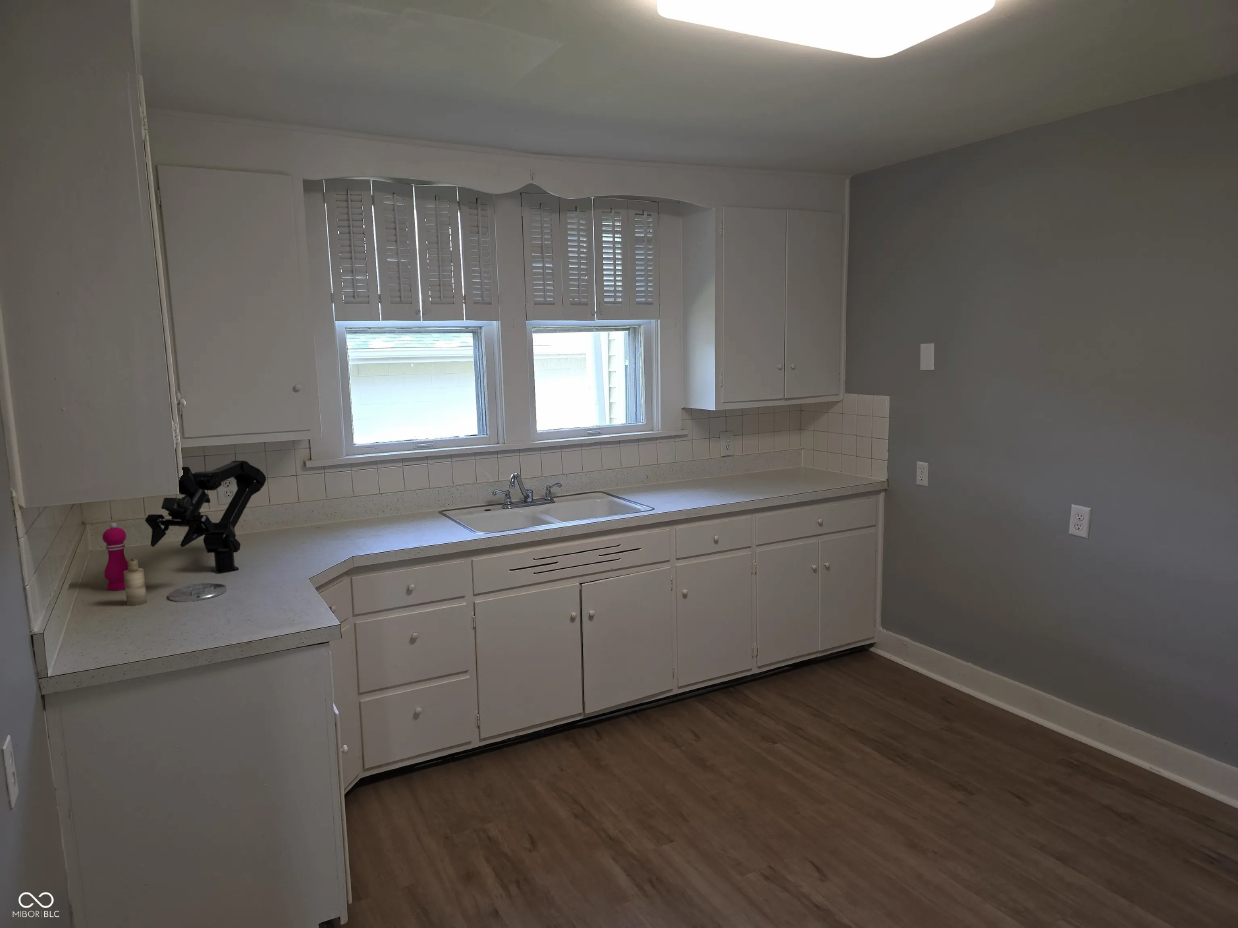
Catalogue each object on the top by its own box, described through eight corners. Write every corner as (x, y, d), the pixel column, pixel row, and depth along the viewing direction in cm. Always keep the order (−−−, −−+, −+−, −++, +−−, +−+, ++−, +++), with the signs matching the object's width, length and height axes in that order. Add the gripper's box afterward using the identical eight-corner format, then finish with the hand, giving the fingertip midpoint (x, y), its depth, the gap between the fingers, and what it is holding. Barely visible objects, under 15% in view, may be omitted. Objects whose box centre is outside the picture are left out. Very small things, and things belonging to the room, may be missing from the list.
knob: (125, 603, 222) (120, 559, 220) (144, 599, 225) (140, 556, 224) (129, 607, 219) (124, 563, 217) (148, 603, 222) (144, 559, 220)
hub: (168, 591, 233) (168, 584, 233) (224, 583, 240) (224, 576, 240) (168, 605, 220) (167, 598, 220) (227, 596, 227) (227, 589, 227)
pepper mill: (109, 585, 239) (101, 521, 236) (136, 582, 242) (129, 519, 239) (103, 592, 233) (95, 526, 230) (131, 589, 235) (124, 524, 232)
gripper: (148, 487, 233) (121, 528, 222) (207, 487, 231) (183, 529, 220) (167, 511, 241) (142, 552, 230) (224, 511, 239) (201, 553, 228)
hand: (166, 546), depth 227 cm, fingers open, 9 cm apart
